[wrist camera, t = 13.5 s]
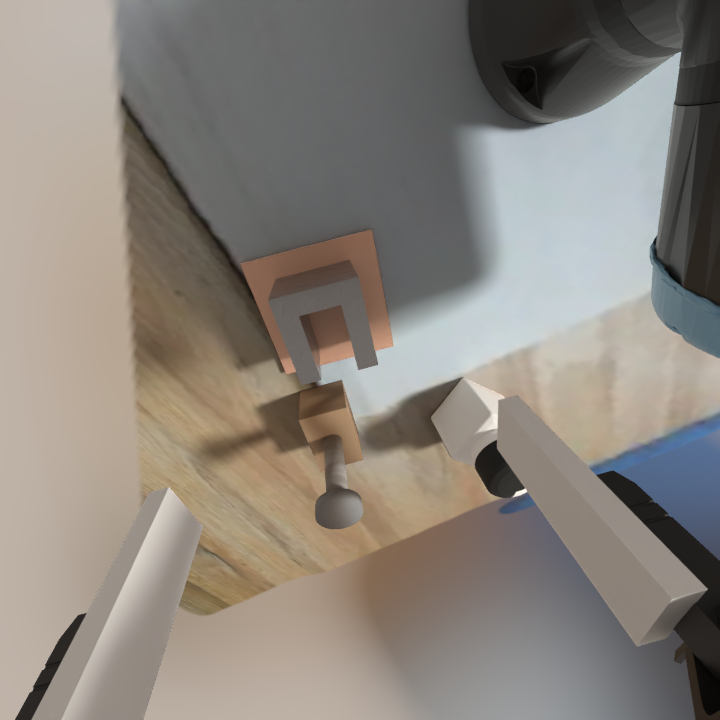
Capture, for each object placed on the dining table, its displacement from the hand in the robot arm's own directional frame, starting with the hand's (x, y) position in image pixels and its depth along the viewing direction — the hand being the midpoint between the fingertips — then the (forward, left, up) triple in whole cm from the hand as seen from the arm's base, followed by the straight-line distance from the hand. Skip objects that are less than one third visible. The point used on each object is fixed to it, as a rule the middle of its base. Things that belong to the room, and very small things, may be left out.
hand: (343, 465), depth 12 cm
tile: (0, +1, -21) cm, 21 cm away
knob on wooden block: (+3, +14, -21) cm, 25 cm away
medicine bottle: (-14, +19, -21) cm, 31 cm away
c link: (0, +1, -20) cm, 20 cm away
